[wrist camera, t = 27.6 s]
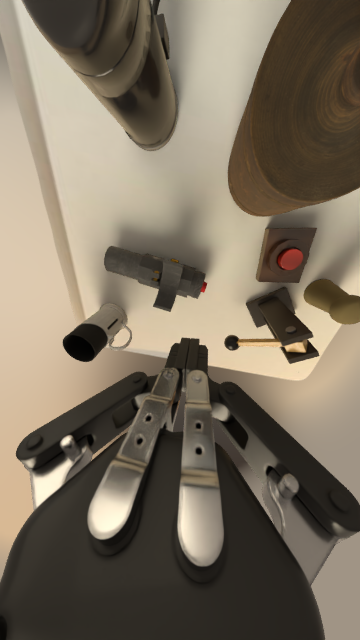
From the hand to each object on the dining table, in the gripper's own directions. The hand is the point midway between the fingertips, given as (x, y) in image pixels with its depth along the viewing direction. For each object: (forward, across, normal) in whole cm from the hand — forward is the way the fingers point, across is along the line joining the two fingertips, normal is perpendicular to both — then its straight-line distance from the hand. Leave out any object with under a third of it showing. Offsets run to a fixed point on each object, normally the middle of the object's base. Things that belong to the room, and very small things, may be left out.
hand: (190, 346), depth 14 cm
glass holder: (+29, +23, +14) cm, 40 cm away
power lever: (+19, -13, +11) cm, 25 cm away
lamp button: (+25, -16, -4) cm, 30 cm away
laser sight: (+29, +10, 0) cm, 31 cm away
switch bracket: (+29, -16, +8) cm, 34 cm away
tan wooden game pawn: (+29, -26, +4) cm, 39 cm away
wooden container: (+29, -11, -18) cm, 36 cm away
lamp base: (+29, -16, -4) cm, 33 cm away
